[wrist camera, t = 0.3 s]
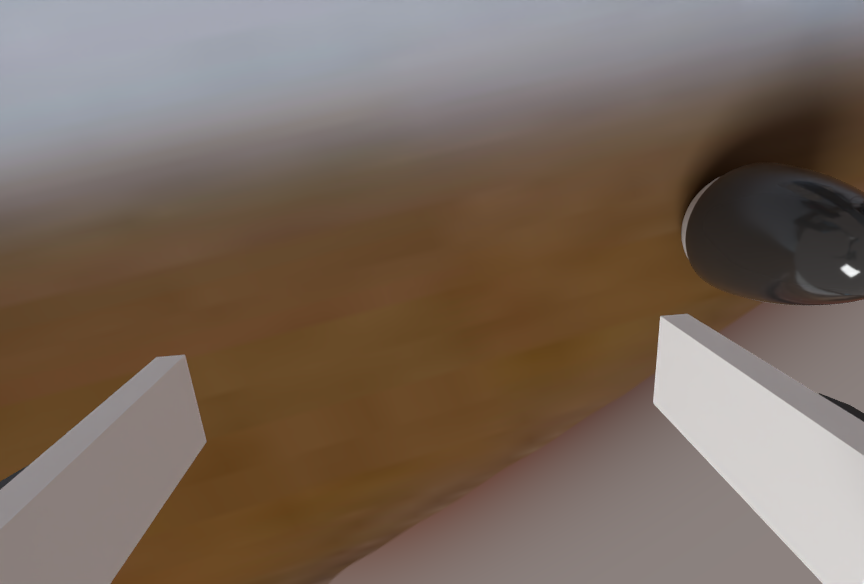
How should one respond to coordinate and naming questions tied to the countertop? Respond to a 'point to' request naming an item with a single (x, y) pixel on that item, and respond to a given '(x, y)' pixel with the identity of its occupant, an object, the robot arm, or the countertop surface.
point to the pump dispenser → (778, 235)
